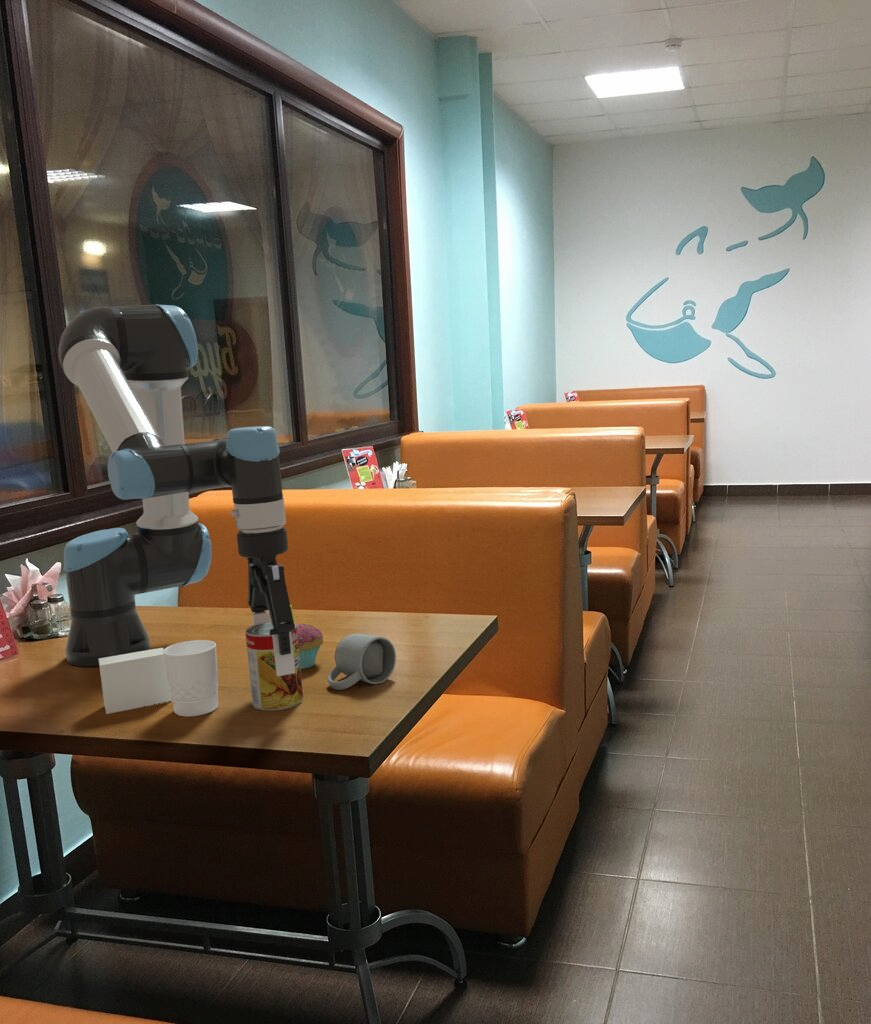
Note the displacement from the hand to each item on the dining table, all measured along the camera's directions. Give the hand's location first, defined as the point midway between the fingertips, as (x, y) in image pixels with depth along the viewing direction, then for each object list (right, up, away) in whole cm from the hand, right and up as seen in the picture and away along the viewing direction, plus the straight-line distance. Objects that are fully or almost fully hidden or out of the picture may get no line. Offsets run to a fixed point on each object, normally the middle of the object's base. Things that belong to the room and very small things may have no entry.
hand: (275, 662), depth 147 cm
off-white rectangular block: (-23, -7, +5) cm, 24 cm away
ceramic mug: (+13, -5, +8) cm, 16 cm away
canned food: (0, -6, +1) cm, 7 cm away
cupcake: (+1, -4, +19) cm, 19 cm away
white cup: (-12, -7, 0) cm, 14 cm away
